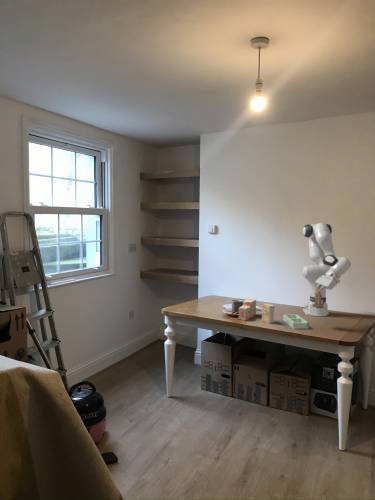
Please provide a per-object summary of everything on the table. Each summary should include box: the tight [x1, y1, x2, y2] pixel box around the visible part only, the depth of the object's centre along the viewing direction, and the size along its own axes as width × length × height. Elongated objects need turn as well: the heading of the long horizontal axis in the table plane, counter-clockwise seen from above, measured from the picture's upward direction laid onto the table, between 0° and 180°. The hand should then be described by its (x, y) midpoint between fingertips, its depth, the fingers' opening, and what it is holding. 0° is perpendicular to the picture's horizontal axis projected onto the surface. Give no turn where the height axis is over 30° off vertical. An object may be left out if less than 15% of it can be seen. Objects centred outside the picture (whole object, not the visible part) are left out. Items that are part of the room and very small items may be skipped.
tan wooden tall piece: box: [312, 287, 324, 308], centre depth 264 cm, size 7×5×14 cm
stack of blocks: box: [237, 298, 257, 321], centre depth 290 cm, size 21×6×12 cm, turn 151°
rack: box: [282, 313, 310, 330], centre depth 271 cm, size 24×10×4 cm, turn 4°
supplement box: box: [261, 303, 275, 324], centre depth 276 cm, size 8×5×13 cm, turn 31°
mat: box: [276, 319, 315, 330], centre depth 271 cm, size 22×20×1 cm
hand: (317, 290), depth 264 cm, fingers closed on tan wooden tall piece, 3 cm apart
